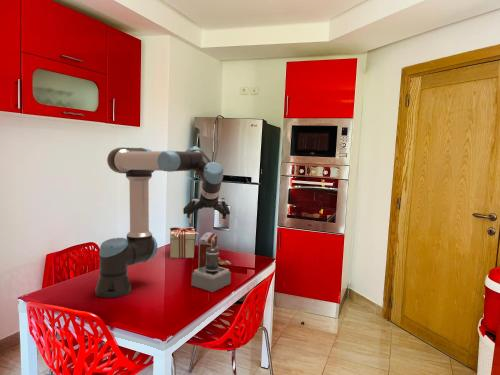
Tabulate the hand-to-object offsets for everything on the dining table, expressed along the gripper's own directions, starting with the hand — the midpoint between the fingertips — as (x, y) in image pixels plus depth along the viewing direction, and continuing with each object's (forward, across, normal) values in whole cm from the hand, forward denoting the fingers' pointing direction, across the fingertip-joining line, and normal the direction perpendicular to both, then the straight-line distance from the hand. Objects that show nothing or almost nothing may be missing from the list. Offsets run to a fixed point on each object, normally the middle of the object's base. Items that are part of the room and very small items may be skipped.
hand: (205, 221), depth 170 cm
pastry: (+52, +14, +4) cm, 54 cm away
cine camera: (+45, +6, -3) cm, 45 cm away
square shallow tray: (+29, +5, -18) cm, 34 cm away
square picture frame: (+25, +5, -14) cm, 29 cm away
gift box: (+65, -6, +17) cm, 67 cm away
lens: (+25, +5, -14) cm, 29 cm away
